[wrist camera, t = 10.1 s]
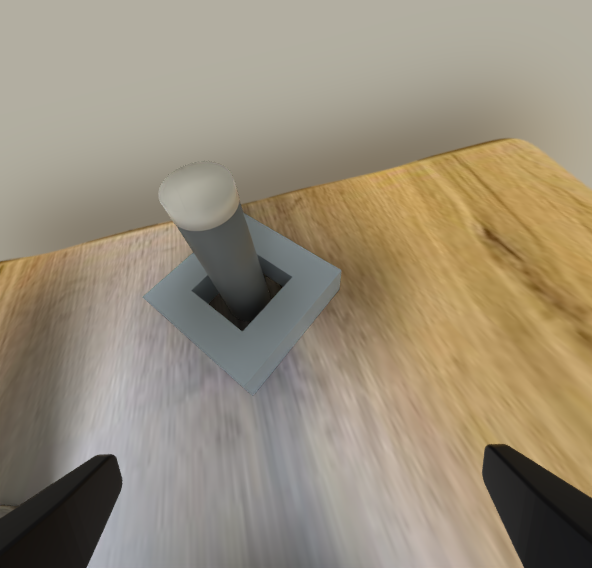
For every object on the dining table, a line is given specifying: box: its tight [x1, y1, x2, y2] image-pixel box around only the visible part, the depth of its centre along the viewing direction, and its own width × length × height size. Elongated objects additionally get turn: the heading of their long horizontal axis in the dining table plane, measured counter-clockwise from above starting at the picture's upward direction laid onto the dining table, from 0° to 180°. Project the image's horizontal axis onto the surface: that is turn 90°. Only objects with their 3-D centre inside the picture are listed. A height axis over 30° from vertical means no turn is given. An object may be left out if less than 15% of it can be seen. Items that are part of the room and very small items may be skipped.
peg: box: [159, 162, 271, 321], centre depth 19 cm, size 4×4×12 cm
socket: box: [143, 213, 341, 396], centre depth 24 cm, size 11×11×3 cm
